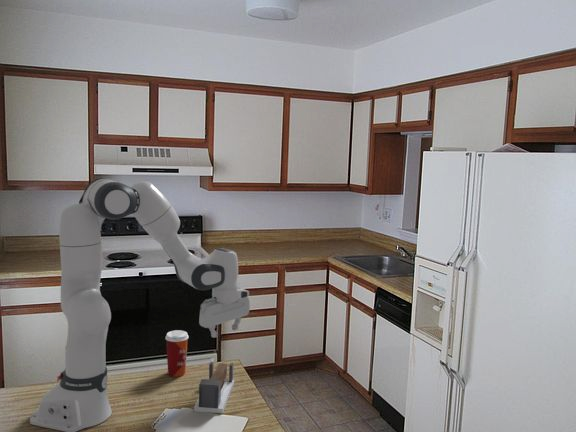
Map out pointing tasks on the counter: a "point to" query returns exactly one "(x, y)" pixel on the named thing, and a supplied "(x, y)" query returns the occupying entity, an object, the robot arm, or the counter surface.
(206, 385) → the endcap frame
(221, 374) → the slat
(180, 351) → the coffee cup
